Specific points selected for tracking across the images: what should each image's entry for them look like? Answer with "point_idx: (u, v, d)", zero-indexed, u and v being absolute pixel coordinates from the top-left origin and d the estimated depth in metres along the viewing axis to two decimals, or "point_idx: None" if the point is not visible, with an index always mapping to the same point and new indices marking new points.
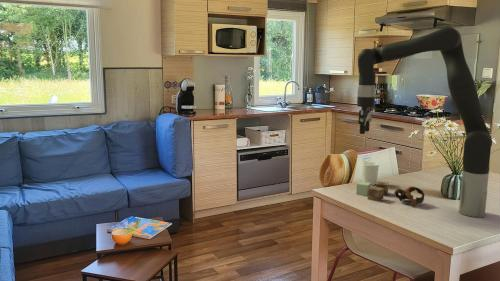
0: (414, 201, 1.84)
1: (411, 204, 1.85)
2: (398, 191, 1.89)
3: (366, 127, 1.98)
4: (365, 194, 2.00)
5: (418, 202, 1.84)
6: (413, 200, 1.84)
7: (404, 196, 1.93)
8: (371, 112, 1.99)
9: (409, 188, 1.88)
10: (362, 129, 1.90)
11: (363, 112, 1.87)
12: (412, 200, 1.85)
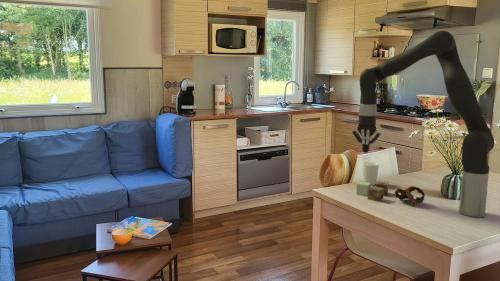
0: (414, 201, 1.85)
1: (411, 204, 1.85)
2: (398, 191, 1.89)
3: None
4: (365, 194, 2.00)
5: (418, 202, 1.85)
6: (413, 200, 1.85)
7: (404, 196, 1.93)
8: None
9: (409, 188, 1.88)
10: None
11: None
12: (412, 200, 1.85)
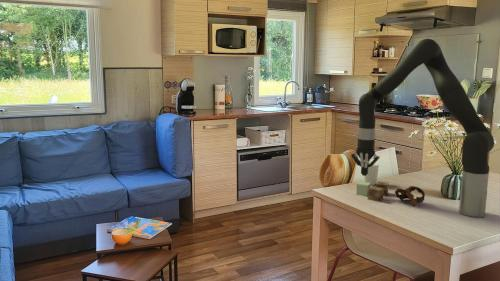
0: (415, 200, 1.85)
1: (412, 203, 1.86)
2: (399, 191, 1.89)
3: None
4: (365, 194, 2.00)
5: (418, 201, 1.85)
6: (414, 199, 1.85)
7: (404, 196, 1.93)
8: None
9: (409, 188, 1.88)
10: (367, 171, 2.01)
11: (378, 158, 1.98)
12: (413, 199, 1.85)
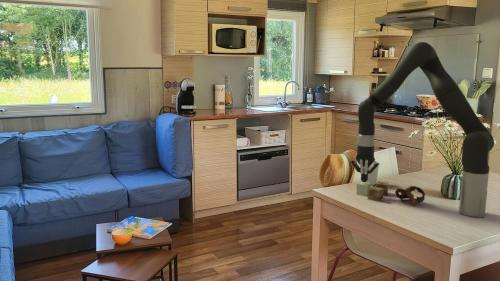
0: (415, 200, 1.85)
1: (412, 203, 1.86)
2: (399, 190, 1.90)
3: None
4: (365, 194, 2.00)
5: (419, 201, 1.85)
6: (414, 199, 1.85)
7: (404, 195, 1.94)
8: None
9: (410, 187, 1.88)
10: (367, 177, 2.01)
11: None
12: (413, 199, 1.85)
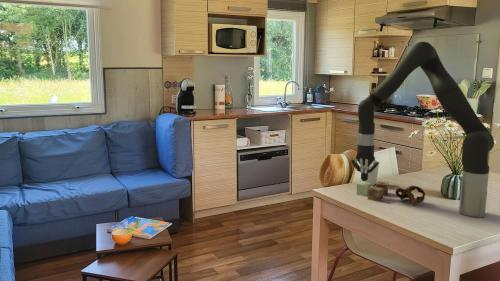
0: (415, 200, 1.86)
1: (412, 203, 1.86)
2: (399, 190, 1.90)
3: None
4: (365, 194, 2.00)
5: (419, 201, 1.86)
6: (414, 199, 1.86)
7: (405, 195, 1.94)
8: None
9: (410, 187, 1.89)
10: (367, 176, 2.01)
11: (378, 164, 1.98)
12: (413, 199, 1.86)
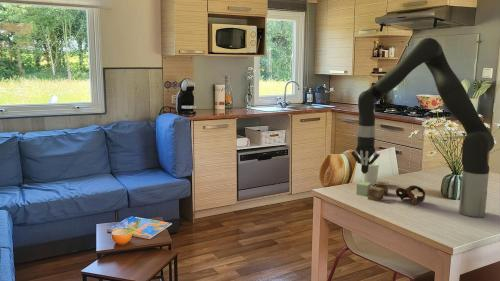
0: (415, 200, 1.86)
1: (412, 203, 1.87)
2: (399, 190, 1.90)
3: None
4: (365, 194, 2.00)
5: (419, 201, 1.86)
6: (414, 199, 1.86)
7: (405, 195, 1.94)
8: None
9: (410, 187, 1.89)
10: (367, 168, 2.00)
11: (378, 156, 1.97)
12: (413, 199, 1.86)
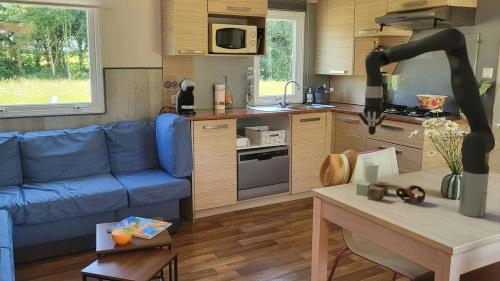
0: (416, 199, 1.87)
1: (413, 202, 1.87)
2: (399, 190, 1.91)
3: None
4: (365, 194, 2.00)
5: (419, 200, 1.87)
6: (415, 198, 1.87)
7: (405, 194, 1.95)
8: None
9: (410, 187, 1.90)
10: (375, 130, 2.01)
11: None
12: (414, 198, 1.87)
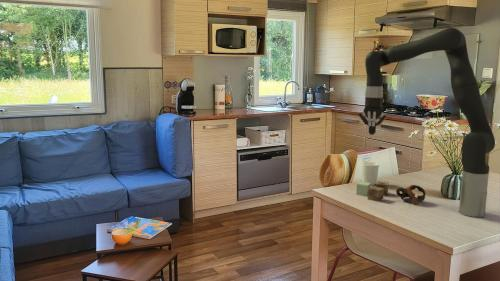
0: (416, 199, 1.87)
1: (413, 202, 1.88)
2: (400, 189, 1.91)
3: None
4: (365, 194, 2.00)
5: (420, 200, 1.87)
6: (415, 198, 1.87)
7: (405, 194, 1.95)
8: None
9: (410, 186, 1.90)
10: (375, 130, 2.01)
11: None
12: (414, 198, 1.87)
